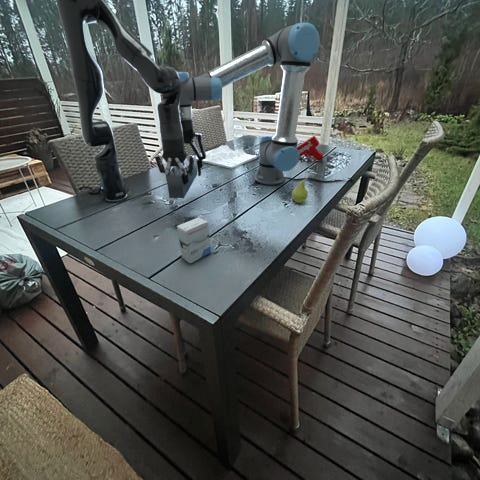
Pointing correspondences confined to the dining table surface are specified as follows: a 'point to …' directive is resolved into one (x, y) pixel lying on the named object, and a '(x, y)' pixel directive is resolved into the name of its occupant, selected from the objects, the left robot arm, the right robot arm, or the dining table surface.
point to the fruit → (300, 192)
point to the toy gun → (310, 148)
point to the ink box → (194, 239)
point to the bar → (180, 180)
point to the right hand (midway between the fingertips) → (189, 174)
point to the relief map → (227, 157)
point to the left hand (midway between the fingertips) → (178, 183)
